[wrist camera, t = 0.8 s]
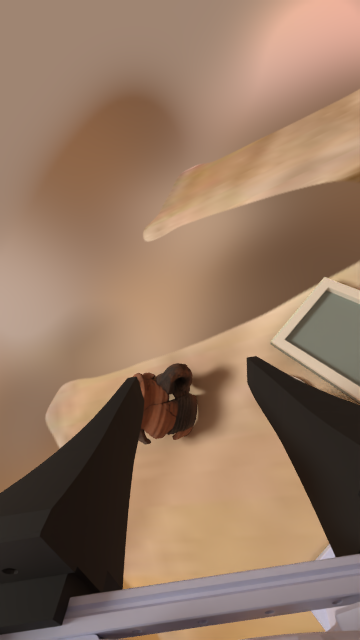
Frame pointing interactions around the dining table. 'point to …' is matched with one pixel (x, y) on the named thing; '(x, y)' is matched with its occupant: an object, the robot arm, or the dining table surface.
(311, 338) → the picture frame
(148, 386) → the pottery mug
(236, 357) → the dining table surface
